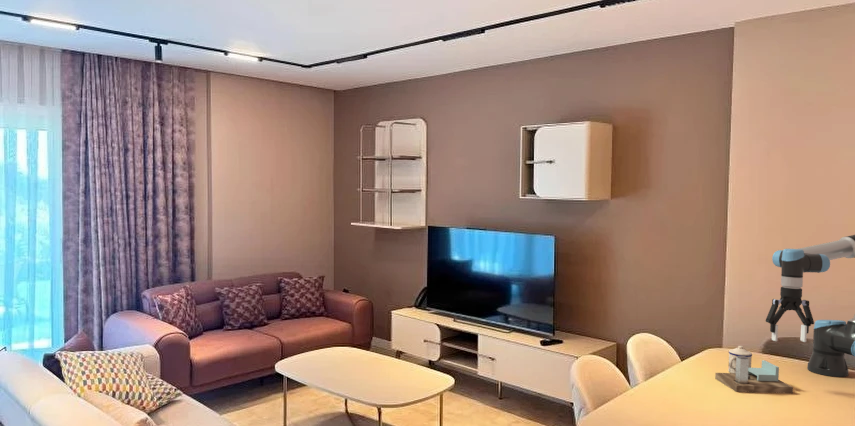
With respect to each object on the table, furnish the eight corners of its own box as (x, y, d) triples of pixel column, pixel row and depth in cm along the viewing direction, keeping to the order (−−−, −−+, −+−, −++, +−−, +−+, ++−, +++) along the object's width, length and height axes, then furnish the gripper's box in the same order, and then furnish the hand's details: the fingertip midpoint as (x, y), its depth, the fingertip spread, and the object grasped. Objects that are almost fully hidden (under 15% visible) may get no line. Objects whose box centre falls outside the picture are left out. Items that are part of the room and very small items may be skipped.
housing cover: (764, 373, 252) (764, 360, 252) (778, 381, 242) (779, 367, 242) (744, 373, 252) (745, 359, 252) (758, 380, 242) (759, 366, 242)
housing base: (767, 380, 253) (768, 370, 252) (792, 393, 236) (793, 383, 235) (715, 378, 252) (715, 369, 252) (736, 392, 235) (736, 381, 235)
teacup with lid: (735, 368, 269) (736, 342, 268) (755, 374, 261) (757, 347, 261) (719, 372, 262) (720, 345, 262) (739, 378, 254) (741, 350, 254)
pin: (742, 387, 242) (744, 355, 242) (747, 389, 239) (748, 357, 238) (734, 386, 242) (736, 355, 242) (739, 389, 239) (740, 357, 238)
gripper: (814, 286, 250) (811, 339, 250) (757, 284, 249) (754, 337, 250) (826, 289, 242) (823, 343, 243) (767, 287, 242) (765, 342, 243)
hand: (788, 340), depth 247 cm, fingers open, 11 cm apart
